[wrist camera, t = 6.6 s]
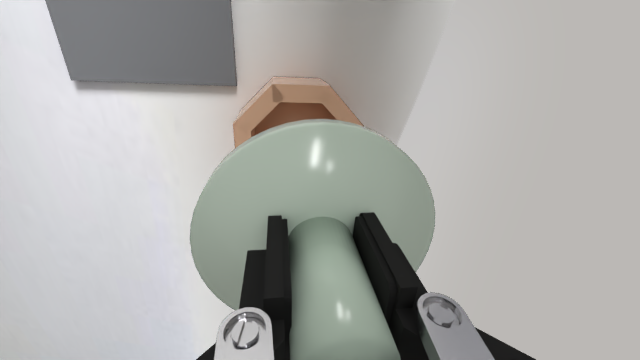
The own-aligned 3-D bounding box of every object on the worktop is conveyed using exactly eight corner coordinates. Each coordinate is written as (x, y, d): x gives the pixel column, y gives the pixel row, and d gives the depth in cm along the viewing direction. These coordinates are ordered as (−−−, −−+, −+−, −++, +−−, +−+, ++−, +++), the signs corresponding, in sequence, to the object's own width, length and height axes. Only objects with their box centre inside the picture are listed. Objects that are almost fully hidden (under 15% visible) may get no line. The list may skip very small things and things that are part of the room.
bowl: (238, 75, 23) (229, 82, 18) (351, 79, 24) (368, 87, 20) (246, 179, 27) (240, 206, 22) (342, 178, 28) (354, 203, 24)
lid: (175, 117, 9) (40, 213, 4) (447, 119, 11) (614, 192, 5) (213, 318, 14) (172, 492, 8) (403, 300, 15) (472, 440, 10)
